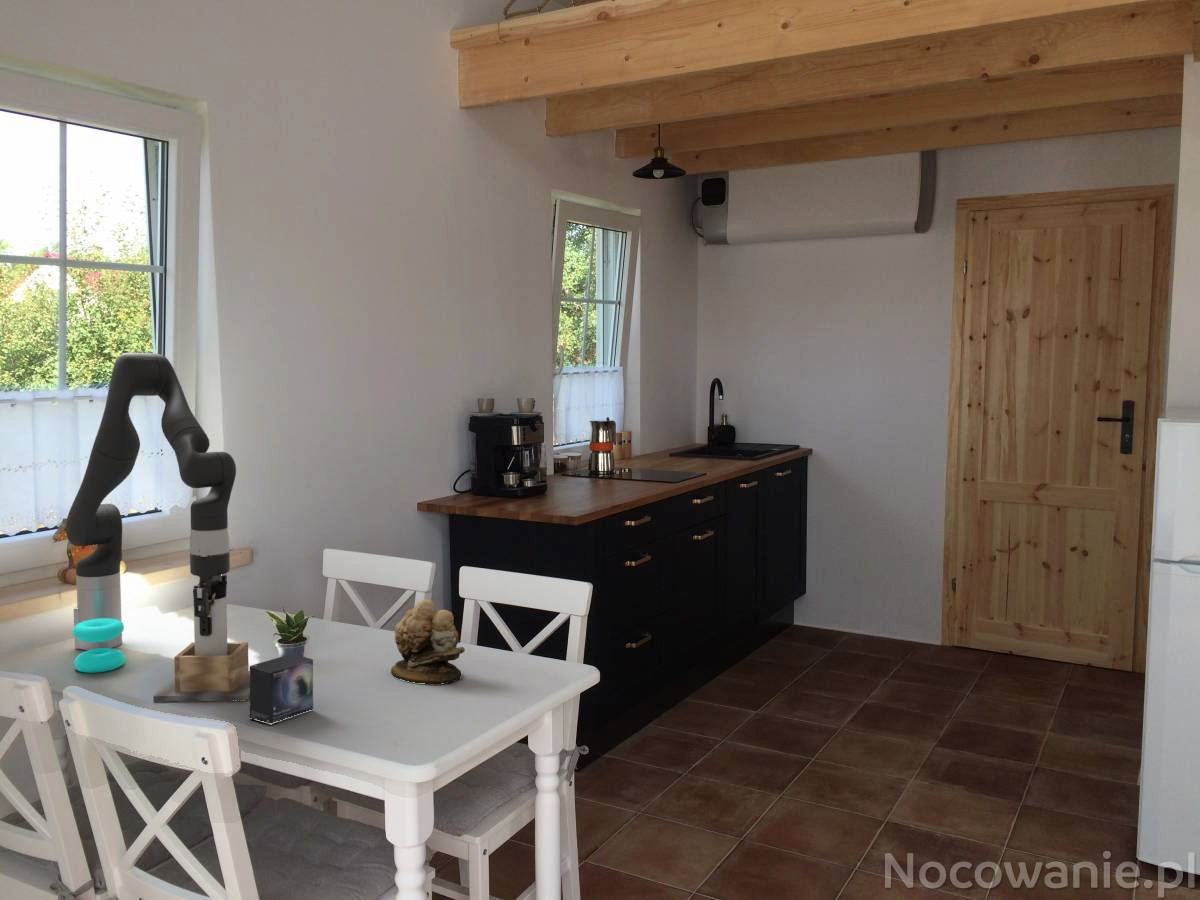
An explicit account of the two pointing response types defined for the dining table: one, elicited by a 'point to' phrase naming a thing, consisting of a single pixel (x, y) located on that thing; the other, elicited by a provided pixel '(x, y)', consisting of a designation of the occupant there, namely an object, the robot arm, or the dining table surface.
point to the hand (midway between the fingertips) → (211, 630)
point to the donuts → (101, 656)
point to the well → (209, 676)
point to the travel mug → (214, 626)
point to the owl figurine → (427, 645)
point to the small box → (281, 688)
